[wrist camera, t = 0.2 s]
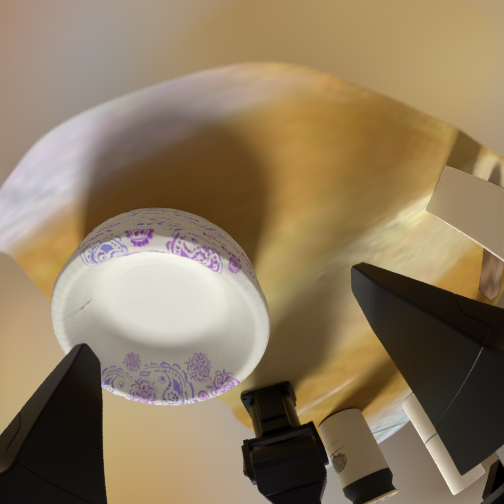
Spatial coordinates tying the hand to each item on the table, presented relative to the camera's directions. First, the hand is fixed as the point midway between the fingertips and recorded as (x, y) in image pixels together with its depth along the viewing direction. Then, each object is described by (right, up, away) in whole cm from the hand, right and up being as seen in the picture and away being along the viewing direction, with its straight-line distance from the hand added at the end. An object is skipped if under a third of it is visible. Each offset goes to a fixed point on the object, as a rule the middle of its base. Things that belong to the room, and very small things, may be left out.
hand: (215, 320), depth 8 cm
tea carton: (+23, +8, +17) cm, 30 cm away
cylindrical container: (+35, -28, +39) cm, 59 cm away
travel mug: (+16, -27, +34) cm, 47 cm away
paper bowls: (-7, 0, +16) cm, 17 cm away
